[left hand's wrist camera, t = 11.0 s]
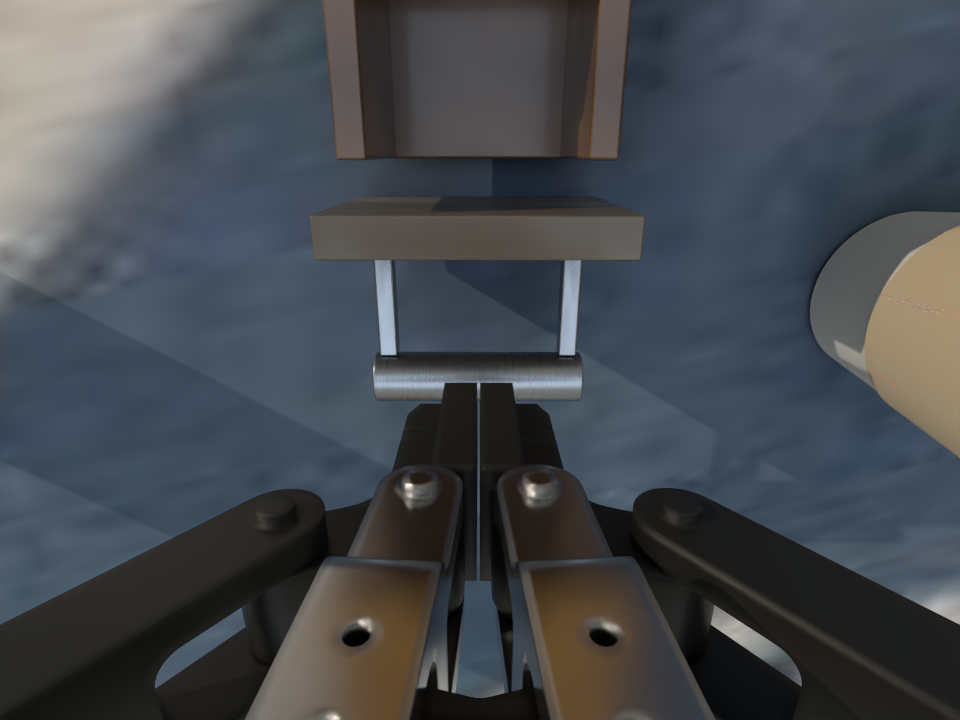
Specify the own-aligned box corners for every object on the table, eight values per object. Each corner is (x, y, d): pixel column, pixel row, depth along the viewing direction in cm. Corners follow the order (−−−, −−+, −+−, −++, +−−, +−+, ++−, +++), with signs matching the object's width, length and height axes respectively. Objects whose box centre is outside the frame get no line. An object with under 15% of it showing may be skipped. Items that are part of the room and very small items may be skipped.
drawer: (583, 360, 23) (622, 437, 17) (372, 360, 23) (332, 437, 17) (645, -486, 15) (771, -973, 8) (311, -486, 15) (182, -974, 8)
